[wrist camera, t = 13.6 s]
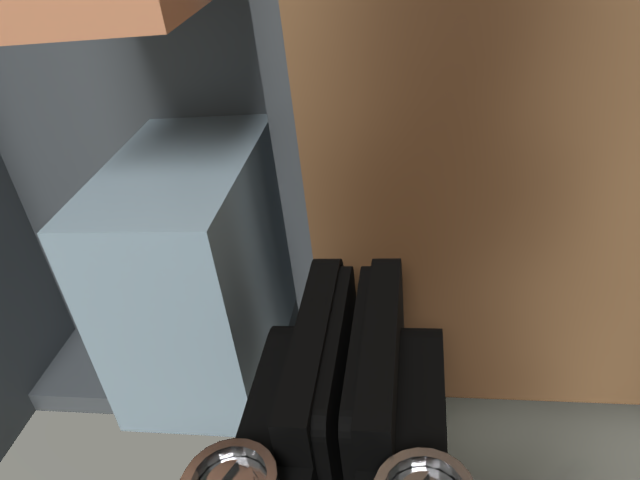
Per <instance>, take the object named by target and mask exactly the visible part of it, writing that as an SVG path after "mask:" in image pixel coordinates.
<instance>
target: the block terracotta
mask: <svg viewBox="0 0 640 480" xmlns="http://www.w3.org/2000/svg"><path fill="white" fill-rule="evenodd" d="M211 1H212V0H0V46H11V45H25V44H40V43H54V42H68V41H82V40H96V39H110V38H125V37H139V36H153V35H167V34H168V33H170V32H171V31H172V30H174V29H175V28H176V27H178V26H179V25H180V24H182V23H183V22H184V21H186V20H187V19H188V18H190V17H191V16H192V15H194V14H195V13H196V12H198V11H199V10H200V9H201V8H203V7H204V6H205V5H207V4H208V3H209V2H211Z"/></svg>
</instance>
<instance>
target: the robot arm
mask: <svg viewBox="0 0 640 480" xmlns="http://www.w3.org/2000/svg"><path fill="white" fill-rule="evenodd" d="M180 480H473V478H472V476H471V473H470V472H469V471H468V470H467V469H466V468H465V466H464V465H463V464H462V463H461V462H460V461H459V460H457V459H456V458H454V457H452V456H451V455H449V454H448V453H447V427H446V401H445V375H444V350H443V329H441V328H404V311H403V286H402V262H401V258H380V259H372V262H371V266H361V269H360V275H359V282H358V289H357V295H356V290H355V279H354V269H353V266H343V261H342V259H313V260H312V263H311V266H310V270H309V274H308V278H307V281H306V285H305V289H304V293H303V296H302V300H301V304H300V308H299V311H298V315H297V319H296V323H295V326H272V327H271V328H270V331H269V333H268V336H267V339H266V342H265V345H264V348H263V351H262V355H261V358H260V361H259V364H258V367H257V370H256V374H255V377H254V380H253V383H252V386H251V389H250V393H249V396H248V399H247V402H246V405H245V408H244V412H243V415H242V418H241V421H240V424H239V427H238V431H237V434H236V437H235V438H232V439H227V440H223V441H219V442H217V443H215V444H213V445H210V446H208V447H206V448H205V449H204V450H203V451H201V452H200V453H199V454H198V455H196V456H195V457H194V458H193V460H192V461H191V462H190V464H189V465H188V466H187V468H186V469H185V471H184V473H183V475H182V477H181V478H180Z"/></svg>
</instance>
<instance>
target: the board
mask: <svg viewBox="0 0 640 480" xmlns="http://www.w3.org/2000/svg"><path fill="white" fill-rule="evenodd" d="M278 1H279V9H280V16H281V23H282V31H283V38H284V46H285V53H286V61H287V68H288V76H289V83H290V90H291V98H292V105H293V113H294V120H295V128H296V135H297V143H298V150H299V157H300V165H301V172H302V180H303V187H304V195H305V202H306V209H307V217H308V224H309V232H310V239H311V247H312V254H313V259H342V261H343V266H353V269H354V279H355V290H356V295H357V289H358V282H359V275H360V269H361V266H371V262H372V259H380V258H401V262H402V286H403V311H404V328H441V329H443V350H444V375H445V397H458V398H484V399H510V400H535V401H561V402H587V403H612V404H638V405H640V0H278Z"/></svg>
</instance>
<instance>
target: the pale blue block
mask: <svg viewBox="0 0 640 480" xmlns="http://www.w3.org/2000/svg"><path fill="white" fill-rule="evenodd" d="M37 235H38V238H39V240H40V242H41V245H42V247H43V249H44V252H45V254H46V256H47V259H48V261H49V263H50V266H51V268H52V270H53V273H54V275H55V277H56V280H57V282H58V284H59V287H60V289H61V291H62V294H63V296H64V298H65V301H66V303H67V305H68V308H69V310H70V312H71V315H72V317H73V319H74V322H75V324H76V326H77V329H78V331H79V334H80V336H81V338H82V341H83V343H84V345H85V348H86V350H87V352H88V355H89V357H90V359H91V362H92V364H93V366H94V369H95V371H96V373H97V376H98V378H99V380H100V383H101V385H102V387H103V390H104V392H105V394H106V397H107V399H108V401H109V404H110V406H111V408H112V411H113V413H114V415H115V418H116V420H117V422H118V425H119V427H120V429H121V431H135V432H153V433H173V434H191V435H208V436H227V437H236V434H237V431H238V427H239V424H240V421H241V418H242V415H243V412H244V408H245V405H246V402H247V399H248V396H249V393H250V389H251V386H252V383H253V380H254V377H255V374H256V370H257V367H258V364H259V361H260V358H261V355H262V351H263V348H264V345H265V342H266V339H267V336H268V333H269V331H270V328H271V327H272V326H289V323H290V319H291V316H292V312H293V308H294V305H295V301H296V292H295V286H294V280H293V274H292V267H291V261H290V255H289V248H288V242H287V236H286V230H285V223H284V217H283V211H282V205H281V198H280V192H279V186H278V180H277V173H276V167H275V161H274V155H273V148H272V142H271V136H270V130H269V123H268V117H267V114H252V115H231V116H209V117H187V118H166V119H149V120H148V121H147V122H146V123H145V124H144V125H143V126H142V127H141V128H140V129H139V131H138V132H137V133H136V134H135V135H134V136H133V137H132V138H131V139H130V140H129V141H128V142H127V143H126V144H125V145H124V146H123V147H122V148H121V149H120V150H119V151H118V152H117V153H116V154H115V155H114V156H113V157H112V158H111V159H110V160H109V161H108V162H107V163H106V164H105V165H104V166H103V167H102V168H101V169H100V170H99V171H98V172H97V173H96V174H95V175H94V176H93V177H92V178H91V179H90V180H89V181H88V182H87V183H86V184H85V185H84V186H83V187H82V188H81V189H80V190H79V191H78V192H77V193H76V194H75V195H74V196H73V197H72V198H71V199H70V200H69V201H68V202H67V203H66V204H65V205H64V206H63V207H62V208H61V209H60V210H59V211H58V212H57V213H56V214H55V215H54V217H53V218H52V219H51V220H50V221H49V222H48V223H47V224H46V225H45V226H44V227H43V228H42V229H41V230H40V231H39V232H38V233H37Z"/></svg>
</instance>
